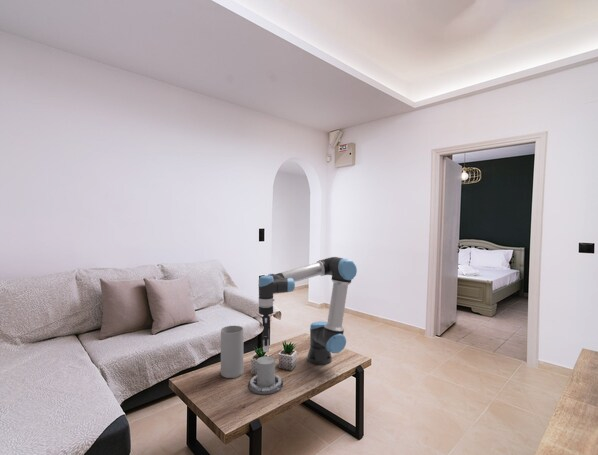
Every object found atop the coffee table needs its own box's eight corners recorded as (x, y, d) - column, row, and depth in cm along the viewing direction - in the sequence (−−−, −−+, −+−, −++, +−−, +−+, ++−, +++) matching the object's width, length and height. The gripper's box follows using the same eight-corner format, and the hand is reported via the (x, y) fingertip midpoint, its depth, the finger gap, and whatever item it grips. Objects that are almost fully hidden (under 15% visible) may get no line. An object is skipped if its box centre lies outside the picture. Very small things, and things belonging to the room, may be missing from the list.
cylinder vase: (230, 381, 169) (230, 334, 169) (216, 374, 177) (216, 329, 176) (248, 372, 179) (248, 328, 179) (233, 366, 187) (233, 324, 186)
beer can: (273, 388, 160) (273, 364, 160) (254, 387, 161) (254, 363, 161) (276, 379, 169) (276, 356, 169) (259, 378, 171) (259, 355, 170)
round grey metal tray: (282, 376, 175) (282, 371, 175) (283, 393, 157) (283, 388, 157) (249, 377, 173) (249, 373, 173) (247, 395, 155) (247, 390, 155)
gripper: (273, 312, 152) (273, 356, 153) (272, 299, 177) (272, 337, 178) (257, 313, 152) (258, 356, 152) (259, 299, 176) (259, 337, 177)
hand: (266, 346), depth 165 cm, fingers open, 13 cm apart
